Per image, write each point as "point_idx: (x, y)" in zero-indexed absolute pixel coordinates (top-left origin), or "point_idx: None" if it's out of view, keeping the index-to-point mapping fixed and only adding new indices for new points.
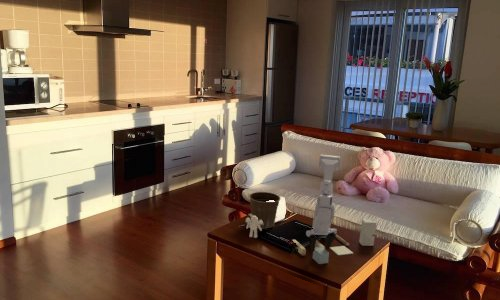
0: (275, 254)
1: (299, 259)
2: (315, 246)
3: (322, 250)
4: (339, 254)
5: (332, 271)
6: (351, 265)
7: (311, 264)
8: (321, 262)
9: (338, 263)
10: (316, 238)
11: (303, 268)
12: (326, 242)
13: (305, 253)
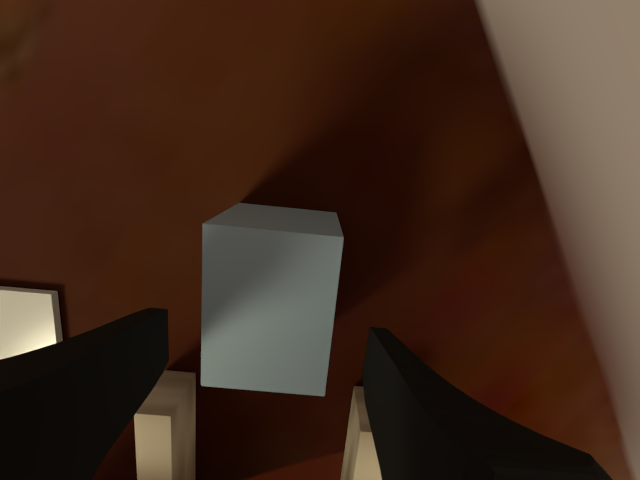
0: None
1: (449, 341)
2: (189, 473)
3: (255, 306)
4: (40, 295)
5: (301, 25)
6: (25, 68)
7: (409, 229)
8: (311, 212)
9: (142, 156)
10: (494, 475)
11: (531, 187)
12: (120, 412)
13: (356, 397)
